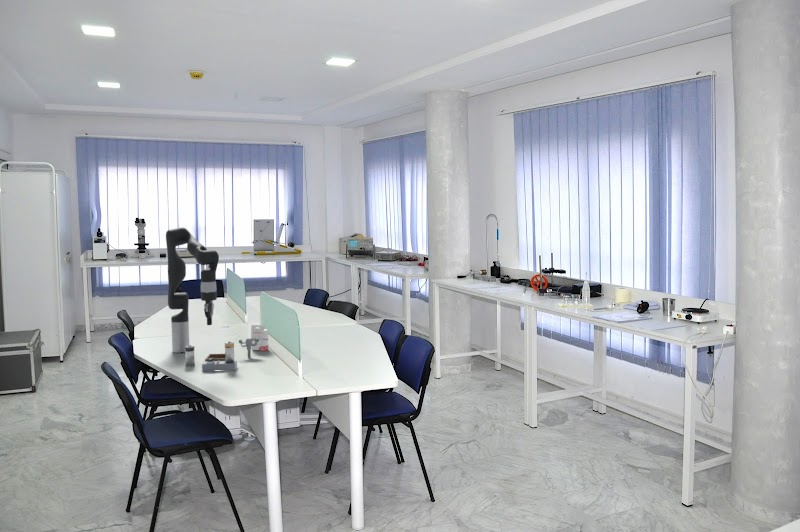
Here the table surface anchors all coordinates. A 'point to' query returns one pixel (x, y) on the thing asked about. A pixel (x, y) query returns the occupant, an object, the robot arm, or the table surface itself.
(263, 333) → the ink cartridge box
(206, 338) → the table surface
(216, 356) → the bin
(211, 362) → the plunger
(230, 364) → the tester
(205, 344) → the table surface
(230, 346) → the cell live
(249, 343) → the mechanical component
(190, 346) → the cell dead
